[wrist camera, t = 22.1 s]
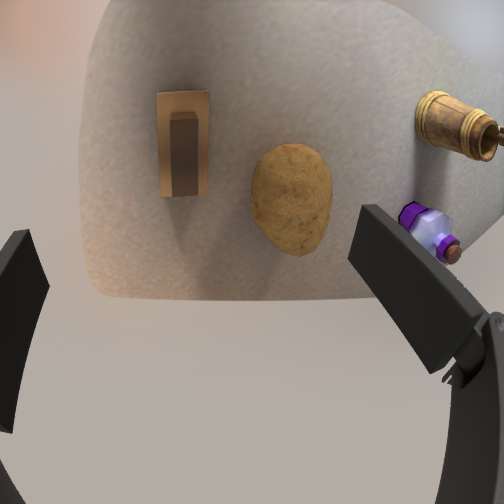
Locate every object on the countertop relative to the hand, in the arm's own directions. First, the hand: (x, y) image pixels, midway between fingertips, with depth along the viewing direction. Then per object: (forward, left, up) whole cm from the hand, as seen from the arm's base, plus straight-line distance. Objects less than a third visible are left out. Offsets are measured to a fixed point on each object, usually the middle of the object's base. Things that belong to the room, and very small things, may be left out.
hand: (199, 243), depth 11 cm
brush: (+2, 0, -24) cm, 24 cm away
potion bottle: (+13, +36, -24) cm, 45 cm away
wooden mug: (-5, +38, -24) cm, 45 cm away
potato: (+8, +12, -24) cm, 28 cm away
